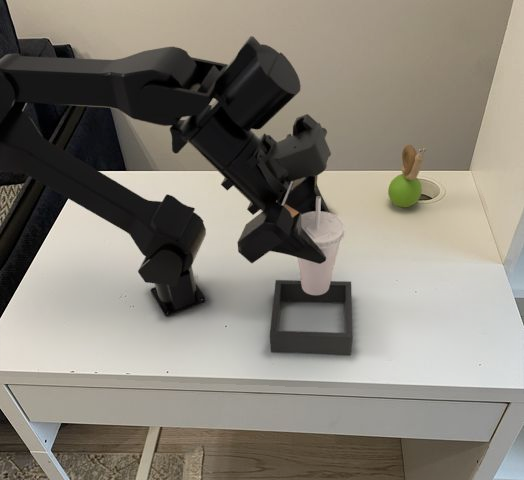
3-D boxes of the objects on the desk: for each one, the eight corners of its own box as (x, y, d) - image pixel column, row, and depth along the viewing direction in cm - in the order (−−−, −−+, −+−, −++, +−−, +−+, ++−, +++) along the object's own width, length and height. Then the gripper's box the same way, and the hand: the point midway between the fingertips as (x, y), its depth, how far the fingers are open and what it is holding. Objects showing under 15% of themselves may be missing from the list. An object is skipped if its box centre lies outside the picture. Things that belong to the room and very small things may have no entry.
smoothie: (286, 298, 71) (285, 207, 61) (297, 267, 75) (297, 176, 65) (335, 305, 70) (342, 214, 60) (343, 273, 74) (351, 182, 64)
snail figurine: (395, 219, 91) (405, 152, 82) (381, 198, 95) (390, 132, 86) (426, 214, 91) (440, 146, 82) (411, 193, 95) (423, 127, 86)
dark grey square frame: (349, 299, 79) (351, 281, 76) (350, 355, 72) (352, 337, 69) (276, 297, 80) (275, 279, 77) (270, 352, 73) (269, 334, 70)
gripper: (261, 152, 50) (369, 263, 56) (304, 68, 61) (390, 167, 68) (192, 215, 57) (294, 306, 63) (242, 129, 69) (324, 213, 75)
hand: (328, 244), depth 67 cm, fingers closed on smoothie, 6 cm apart
